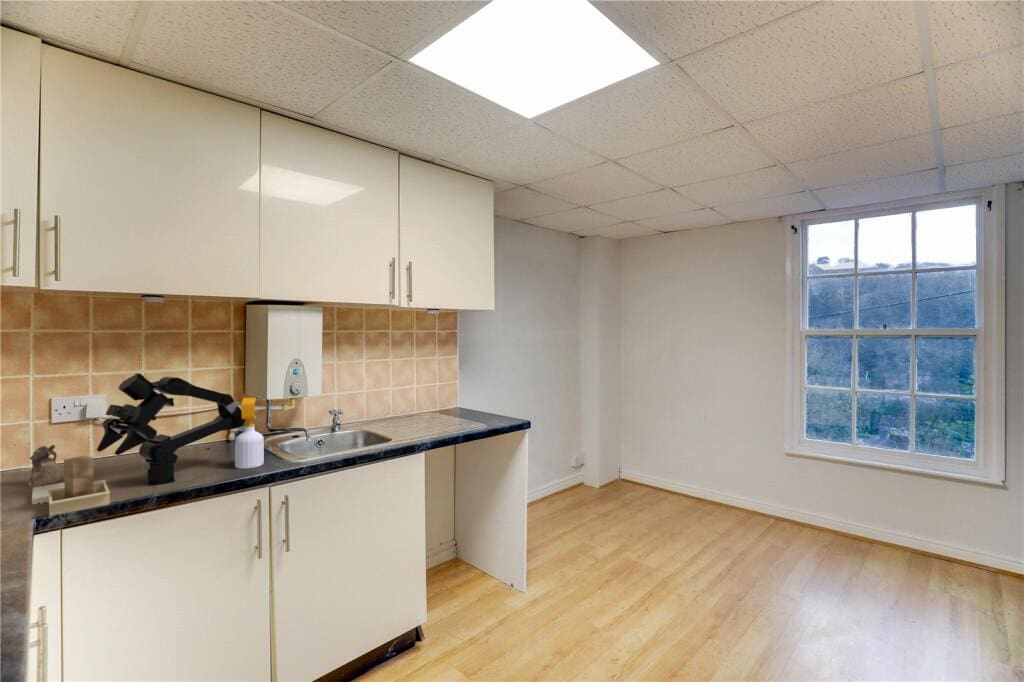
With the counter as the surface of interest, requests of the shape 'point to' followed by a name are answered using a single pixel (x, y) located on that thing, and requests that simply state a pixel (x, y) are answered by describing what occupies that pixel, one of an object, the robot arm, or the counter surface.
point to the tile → (43, 493)
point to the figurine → (44, 467)
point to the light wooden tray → (78, 499)
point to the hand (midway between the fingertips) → (106, 452)
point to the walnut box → (78, 476)
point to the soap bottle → (249, 440)
